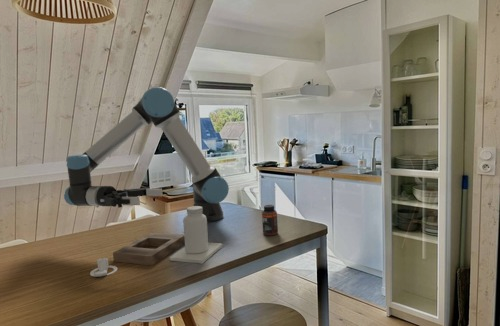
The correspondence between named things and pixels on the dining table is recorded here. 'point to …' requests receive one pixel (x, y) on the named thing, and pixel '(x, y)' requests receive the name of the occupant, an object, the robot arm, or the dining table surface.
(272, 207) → the supplement bottle
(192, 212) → the pill bottle
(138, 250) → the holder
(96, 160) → the robot arm
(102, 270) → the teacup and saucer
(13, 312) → the dining table surface
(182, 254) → the board
